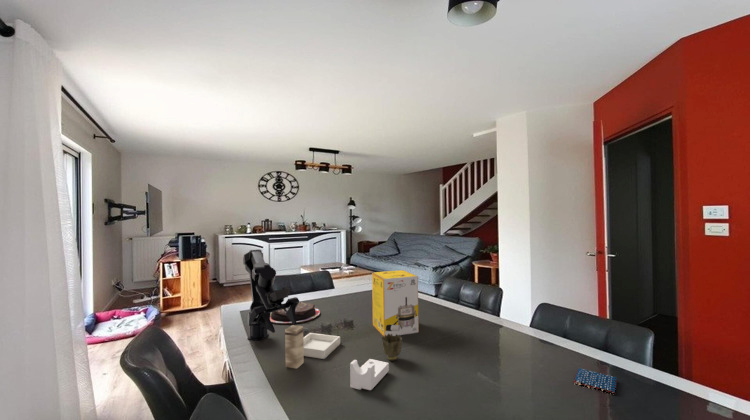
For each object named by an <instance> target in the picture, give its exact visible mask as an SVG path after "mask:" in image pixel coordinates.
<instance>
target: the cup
mask: <svg viewBox="0 0 750 420" xmlns="http://www.w3.org/2000/svg"><path fill="white" fill-rule="evenodd" d="M381 341H382V342H381V343H382V348H383V353H384V354H385V355H386V356H387V360H389V362H394V361H397V360H398V356H399V355H400V354H401V351H402V346H403V345H402V344H403V337H402V335H397V334H396V336H392V334H391V335H390V334H388V335H387V336H386V335H385V337H384V336H383V335H382V336H381Z"/></svg>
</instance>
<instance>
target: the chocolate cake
mask: <svg viewBox="0 0 750 420" xmlns="http://www.w3.org/2000/svg"><path fill="white" fill-rule="evenodd" d="M320 314H321V311H320V309H319V308H316V305H315V304H314V303H311V302H310V303H307V302H303V301H300V302H299V304H298V305H297V307H296V308H295V315H296V323H297V324H304V323H307V322H308V321H309V322H310V321H313V320H314V319H316V318H317V317H318V316H319V315H320ZM270 321H271V323H273V324H275V325H293V323H292V322H291V321H290V319H289V318H288V316H287V315H286V311H284V309H282V310H278V311H275V312H271V315H270Z"/></svg>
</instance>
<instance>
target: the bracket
mask: <svg viewBox="0 0 750 420" xmlns="http://www.w3.org/2000/svg"><path fill="white" fill-rule="evenodd" d="M349 367H350V368H349V373H350V375H349V377H350V378H349V382H350V383H349V384H350V385H349V387H350V388H351V389H357V390H359V391H361V390H362V389H363V390H368V391H372V390H373V389H374V387H376V386H377V384H379V382H380V381H381V380H382V379H384V377H385V376H386V374H387V373H388V372H390V364H389V362H387V361H386V362H385V361H381V360H377V359H372V358H369V359H368V360H367V361H366V362H365V363H364V364H362V365H361V366H360V365H359V363H358V360H357V359H353V360H352V361H351V362H350V363H349Z"/></svg>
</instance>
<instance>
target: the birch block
mask: <svg viewBox="0 0 750 420" xmlns="http://www.w3.org/2000/svg"><path fill="white" fill-rule="evenodd" d="M284 335H285V336H284V341H285V342H284V343H285V345H284V347H285V349H284V351H285V352H284V353H285V368H291V369H298V368H300V366H302V365H303V364H304V363H305V362H304V360H305V359H304V357H305V356H304V348H303V337H304V326H303V325H297V324H296V325H293V324H291V325H290V326H289V327H287V328H285V329H284Z"/></svg>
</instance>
